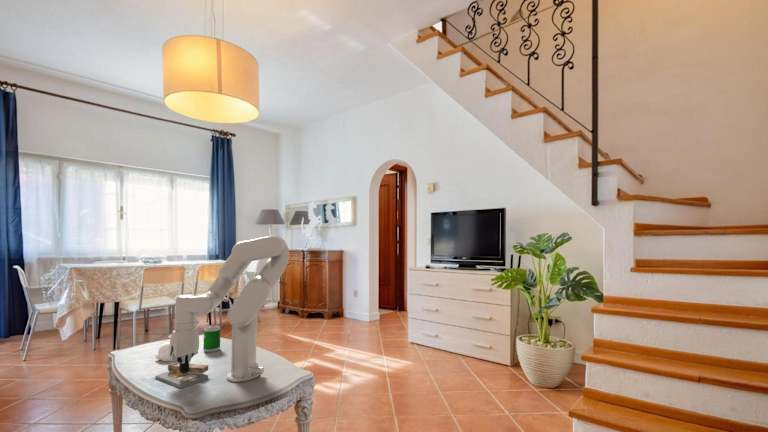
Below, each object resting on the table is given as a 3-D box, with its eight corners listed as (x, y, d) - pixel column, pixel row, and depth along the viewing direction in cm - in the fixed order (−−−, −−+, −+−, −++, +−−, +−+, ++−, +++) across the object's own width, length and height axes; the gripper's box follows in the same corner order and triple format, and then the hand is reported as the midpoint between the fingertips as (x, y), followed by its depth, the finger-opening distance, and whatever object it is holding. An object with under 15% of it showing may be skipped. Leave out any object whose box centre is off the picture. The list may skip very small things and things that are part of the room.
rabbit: (185, 354, 170) (186, 329, 171) (183, 361, 162) (184, 334, 162) (156, 358, 166) (157, 332, 166) (152, 365, 157) (153, 337, 158)
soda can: (223, 348, 180) (223, 324, 180) (213, 353, 172) (214, 328, 173) (210, 347, 181) (210, 324, 182) (199, 352, 174) (200, 327, 174)
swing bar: (208, 370, 145) (208, 365, 145) (202, 373, 141) (202, 368, 141) (172, 367, 148) (172, 362, 148) (165, 370, 144) (166, 365, 144)
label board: (208, 378, 143) (208, 372, 143) (180, 388, 133) (180, 382, 133) (182, 369, 152) (182, 364, 152) (155, 378, 142) (155, 372, 142)
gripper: (197, 320, 150) (196, 364, 149) (161, 329, 137) (159, 377, 136) (208, 323, 147) (207, 368, 146) (172, 331, 134) (170, 381, 133)
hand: (184, 372), depth 141 cm, fingers closed
